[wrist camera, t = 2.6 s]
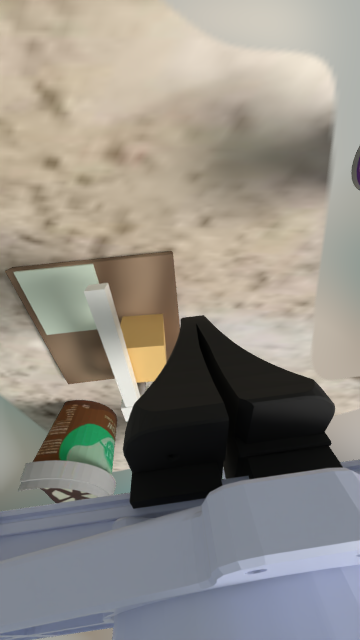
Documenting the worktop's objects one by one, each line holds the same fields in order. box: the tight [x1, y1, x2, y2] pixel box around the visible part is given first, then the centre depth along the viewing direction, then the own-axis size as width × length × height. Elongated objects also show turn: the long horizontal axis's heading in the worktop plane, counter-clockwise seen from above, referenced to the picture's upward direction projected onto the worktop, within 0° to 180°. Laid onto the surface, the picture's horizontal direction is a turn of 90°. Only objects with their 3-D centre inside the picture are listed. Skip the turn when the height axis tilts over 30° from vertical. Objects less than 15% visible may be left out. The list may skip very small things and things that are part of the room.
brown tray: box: [5, 251, 180, 395], centre depth 19 cm, size 14×14×6 cm
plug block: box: [120, 314, 166, 383], centre depth 19 cm, size 4×4×5 cm
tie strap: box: [84, 283, 143, 422], centre depth 16 cm, size 2×13×1 cm, turn 5°
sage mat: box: [14, 264, 99, 335], centre depth 18 cm, size 6×6×1 cm
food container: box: [18, 400, 117, 503], centre depth 25 cm, size 12×6×10 cm, turn 14°
